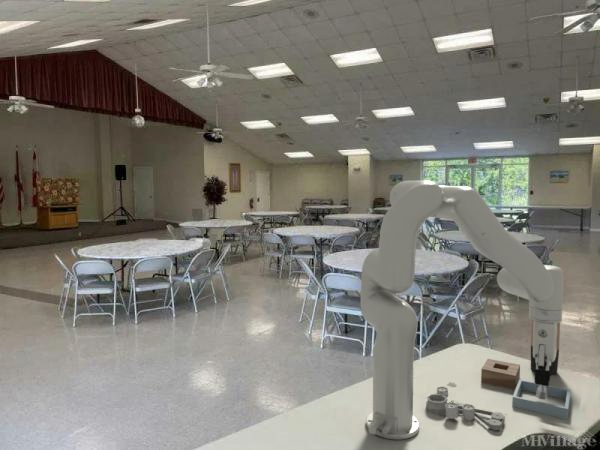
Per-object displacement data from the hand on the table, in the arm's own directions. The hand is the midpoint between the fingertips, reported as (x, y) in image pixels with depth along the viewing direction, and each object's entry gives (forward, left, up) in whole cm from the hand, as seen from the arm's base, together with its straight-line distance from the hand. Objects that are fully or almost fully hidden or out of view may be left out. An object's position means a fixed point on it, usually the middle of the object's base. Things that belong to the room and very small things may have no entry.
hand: (542, 381), depth 121 cm
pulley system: (-13, +19, -7) cm, 24 cm away
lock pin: (0, 0, -4) cm, 4 cm away
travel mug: (+23, +1, -7) cm, 24 cm away
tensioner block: (+9, +11, -7) cm, 16 cm away
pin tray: (0, 0, -7) cm, 7 cm away
